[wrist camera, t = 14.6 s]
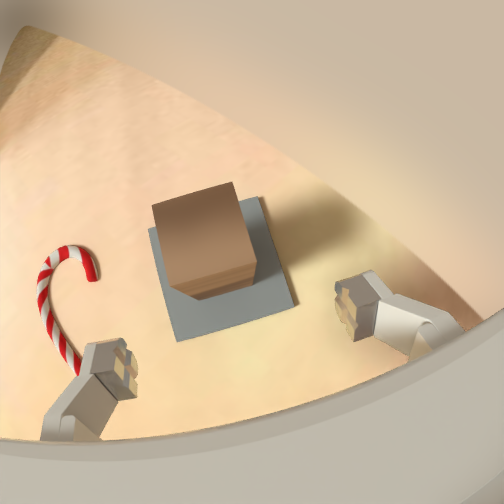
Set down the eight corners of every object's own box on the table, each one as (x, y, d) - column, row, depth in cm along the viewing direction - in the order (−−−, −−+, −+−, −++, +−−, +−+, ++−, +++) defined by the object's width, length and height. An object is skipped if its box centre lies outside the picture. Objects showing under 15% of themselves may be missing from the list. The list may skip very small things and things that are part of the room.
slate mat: (293, 307, 25) (294, 307, 25) (178, 341, 24) (176, 342, 24) (257, 198, 27) (257, 196, 27) (149, 230, 26) (147, 229, 26)
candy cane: (77, 412, 22) (25, 267, 24) (84, 409, 23) (32, 269, 26) (144, 386, 23) (81, 231, 25) (148, 383, 24) (87, 235, 27)
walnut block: (252, 285, 25) (256, 261, 15) (199, 300, 25) (169, 286, 15) (236, 234, 26) (232, 181, 16) (185, 248, 26) (151, 205, 16)
